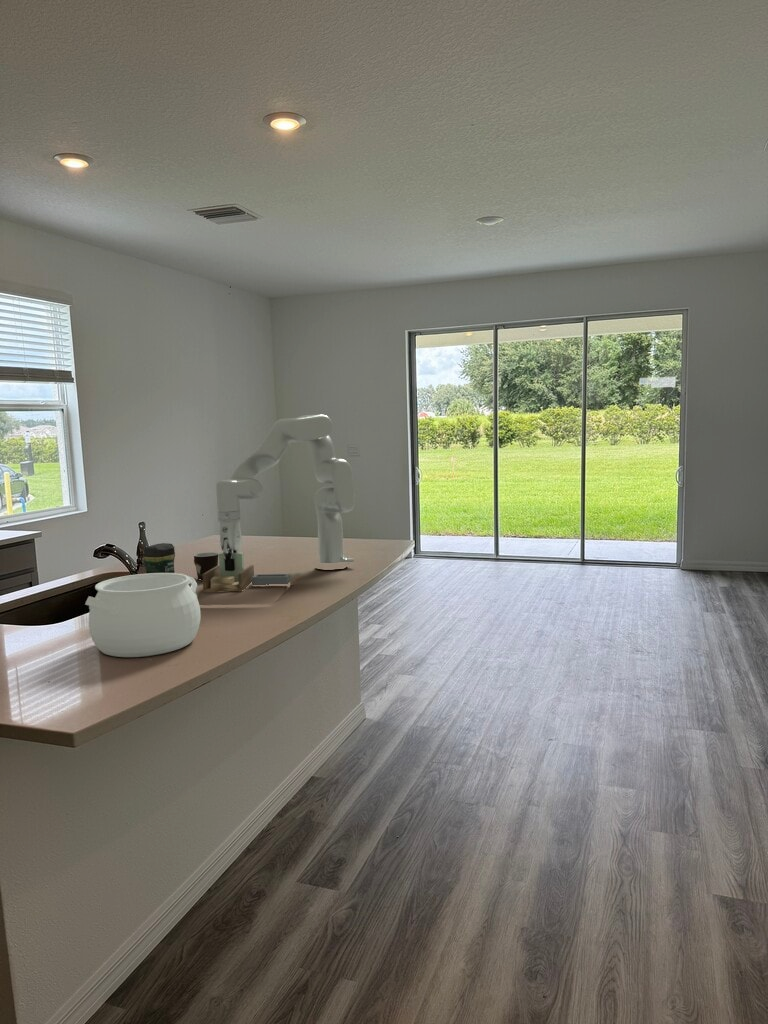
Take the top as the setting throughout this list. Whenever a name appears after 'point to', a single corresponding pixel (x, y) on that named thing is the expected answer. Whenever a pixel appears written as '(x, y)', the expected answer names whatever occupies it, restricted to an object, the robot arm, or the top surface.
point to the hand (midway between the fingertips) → (231, 568)
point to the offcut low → (234, 585)
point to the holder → (270, 579)
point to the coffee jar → (159, 558)
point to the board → (237, 561)
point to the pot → (144, 614)
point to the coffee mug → (205, 562)
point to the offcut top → (223, 580)
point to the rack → (244, 581)
